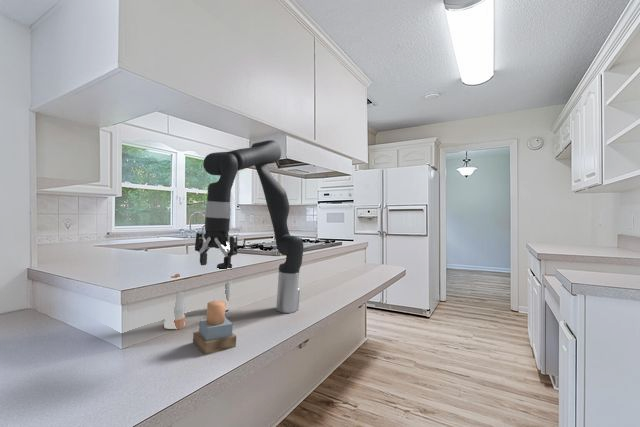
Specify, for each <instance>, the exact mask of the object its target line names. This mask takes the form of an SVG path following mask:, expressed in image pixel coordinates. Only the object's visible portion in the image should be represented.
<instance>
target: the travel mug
mask: <svg viewBox="0 0 640 427" xmlns="http://www.w3.org/2000/svg"><path fill="white" fill-rule="evenodd" d="M223 264H224V262H221V263H218V264H217V265H216V269H217V268H219V269H224V268H223ZM229 268H232V269H233V264H232V263H231V265H230V267H229ZM230 286H231V287H232V281H231V282H230V281H229V282H227V283H226V284H225V289H226V290H225V294H226V299H227V301H229V297H230V298H231V292H230Z"/></svg>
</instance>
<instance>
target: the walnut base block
mask: <svg viewBox="0 0 640 427" xmlns="http://www.w3.org/2000/svg"><path fill="white" fill-rule="evenodd" d="M192 337H193V338H192V344H193V345H195V347H196V348H197V349H199V351H200V352H202V353H203V354H204V355H205V356H207V355H211V354H214V353H215V354H216V353H219V352H221V351H225V350H229V349H233V348H236V347H237V345H236V344H237V335H236V334H234V333H233V332H232V336H230V337H225V338H220V339H215V340H210V341H206V340H205V338H204V337H203V336H202V335H201V334H200V332H199V330H196V331H193V336H192Z"/></svg>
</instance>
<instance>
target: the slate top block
mask: <svg viewBox="0 0 640 427" xmlns="http://www.w3.org/2000/svg"><path fill="white" fill-rule="evenodd" d="M198 331H199V332H200V334H201V335H202V336H203V337H204V338H205V340H206V341H210V340H215V339H220V338H225V337H230V336H232V333H233V322H231V320H229V319H228V318H227V317H226V316H225V320H224V323H223V324H220V325H209V324H207V323H206V318H202V319H199V327H198Z"/></svg>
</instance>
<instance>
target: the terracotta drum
mask: <svg viewBox="0 0 640 427" xmlns="http://www.w3.org/2000/svg"><path fill="white" fill-rule="evenodd" d="M206 306H207V307H206V308H207V309H206V318H205V319H206V323H207V324H209V325H220V324H223V323H224V320H225V317H226V316H225V315H226V312H225V306H226V303H225V302H223V301H215V300H212V301H209V302H208V303H207V305H206Z"/></svg>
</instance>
